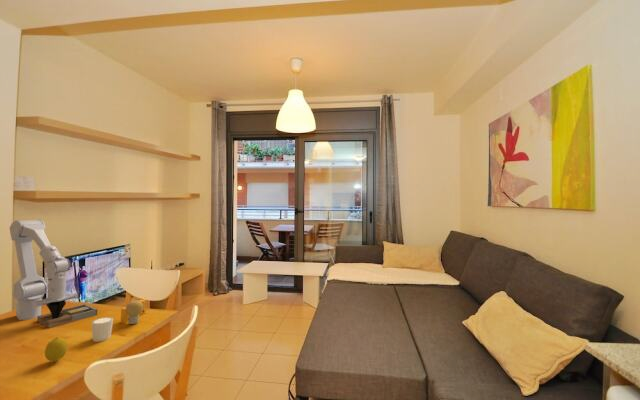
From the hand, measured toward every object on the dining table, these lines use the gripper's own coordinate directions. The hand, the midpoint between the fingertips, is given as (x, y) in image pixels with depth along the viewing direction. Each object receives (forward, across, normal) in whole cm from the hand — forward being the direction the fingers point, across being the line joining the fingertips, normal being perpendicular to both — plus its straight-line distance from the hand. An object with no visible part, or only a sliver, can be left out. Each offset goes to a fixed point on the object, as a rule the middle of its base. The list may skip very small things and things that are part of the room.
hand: (55, 319), depth 123 cm
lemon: (+2, -12, -37) cm, 39 cm away
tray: (+1, +8, 0) cm, 8 cm away
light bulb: (+2, +18, -27) cm, 33 cm away
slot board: (+2, +4, 0) cm, 5 cm away
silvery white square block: (+1, +10, 0) cm, 10 cm away
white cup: (+2, +4, -31) cm, 31 cm away
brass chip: (+1, +6, 0) cm, 6 cm away
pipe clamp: (+2, +21, -20) cm, 29 cm away
